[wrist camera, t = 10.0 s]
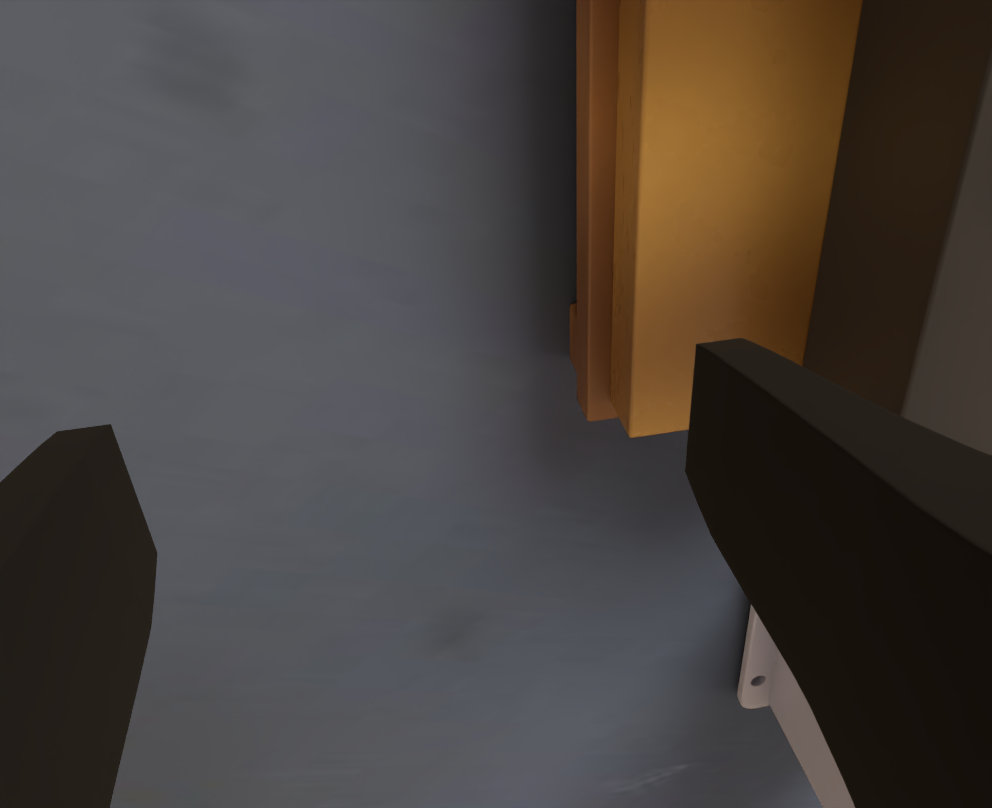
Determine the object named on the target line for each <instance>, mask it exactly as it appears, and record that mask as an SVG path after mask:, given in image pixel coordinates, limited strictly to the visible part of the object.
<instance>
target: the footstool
mask: <svg viewBox="0 0 992 808" xmlns="http://www.w3.org/2000/svg"><path fill="white" fill-rule="evenodd" d="M862 4H863V0H577V303H574V304H571V306H570V359H571V361H572V364H573V366H574V368H575V370H576V372H577V400H578V402H579V404H580V406H581V408H582V411H583V413H584V415H585V417H586V419H587V421H589V422H591V421H598V420H605V419H612V418H619V419H620V421H621V423H622V425H623V426H624V428H625V430H626V432H627V434H628V436H629V437H630V438H636V437H642V436H649V435H656V434H663V433H669V432H676V431H683V430H689V421H690V409H691V397H692V386H693V374H694V362H695V351H696V344H699V343H707V342H714V341H721V340H729V339H736V338H744V339H746V340H749V341H751V342H754V343H756V344H758V345H760V346H763V347H765V348H767V349H769V350H771V351H773V352H775V353H777V354H779V355H781V356H783V357H785V358H787V359H789V360H791V361H793V362H795V363H797V364H799V365H801V366H803V360H804V354H805V348H806V342H807V336H808V330H809V324H810V318H811V312H812V306H813V300H814V294H815V288H816V282H817V276H818V269H819V263H820V257H821V251H822V245H823V239H824V233H825V227H826V221H827V215H828V209H829V203H830V197H831V191H832V185H833V179H834V173H835V167H836V161H837V155H838V149H839V143H840V137H841V130H842V124H843V118H844V112H845V106H846V100H847V94H848V88H849V82H850V76H851V70H852V64H853V58H854V52H855V46H856V40H857V34H858V28H859V22H860V16H861V10H862Z"/></svg>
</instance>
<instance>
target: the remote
mask: <svg viewBox="0 0 992 808" xmlns="http://www.w3.org/2000/svg"><path fill="white" fill-rule="evenodd" d="M803 367H804V368H806V369H808V370H810V371H812V372H814V373H816V374H818V375H820V376H822V377H824V378H826V379H828V380H830V381H831V382H833V383H835V384H837V385H839V386H841V387H843V388H845V389H847V390H849V391H851V392H853V393H855V394H857V395H859V396H861V397H863V398H865V399H867V400H869V401H871V402H873V403H875V404H877V405H879V406H881V407H883V408H885V409H887V410H889V411H891V412H893V413H895V414H898V415H900V416H902V417H904V418H906V419H908V420H910V421H912V422H914V423H917V424H919V425H921V426H923V427H926V428H928V429H930V430H933V431H935V432H937V433H939V434H942V435H944V436H946V437H948V438H951V439H953V440H955V441H957V442H960V443H962V444H964V445H967V446H969V447H971V448H974V449H976V450H979V451H981V452H984V453H986V454H989V455H991V456H992V0H863V4H862V10H861V16H860V22H859V28H858V34H857V40H856V46H855V52H854V58H853V64H852V70H851V76H850V82H849V88H848V94H847V100H846V106H845V112H844V118H843V124H842V130H841V137H840V143H839V149H838V155H837V161H836V167H835V173H834V179H833V185H832V191H831V197H830V203H829V209H828V215H827V221H826V227H825V233H824V239H823V245H822V251H821V257H820V263H819V269H818V276H817V282H816V288H815V294H814V300H813V306H812V312H811V318H810V324H809V330H808V336H807V342H806V348H805V354H804V360H803Z"/></svg>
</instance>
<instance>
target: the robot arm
mask: <svg viewBox="0 0 992 808" xmlns="http://www.w3.org/2000/svg"><path fill="white" fill-rule="evenodd" d="M685 472H686V475H687V477H688V480H689V482H690V485H691V488H692V490H693V493H694V495H695V498H696V500H697V503H698V505H699V508H700V510H701V513H702V515H703V517H704V520H705V522H706V524H707V527H708V529H709V531H710V534H711V536H712V537H713V539H714V541H715V543H716V545H717V546H718V548H719V550H720V552H721V553H722V555H723V557H724V559H725V560H726V562H727V564H728V565H729V567H730V569H731V571H732V572H733V574H734V576H735V577H736V579H737V581H738V583H739V584H740V586H741V588H742V589H743V591H744V593H745V594H746V596H747V598H748V600H749V601H750V603H751V608H750V615H749V621H748V628H747V634H746V641H745V647H744V654H743V660H742V667H741V673H740V680H739V686H738V692H737V697H738V699H739V702H740V704H741V705H742V706H743V707H744V708H748V709H754V708H759V707H765V706H770V707H771V709H772V711H773V713H774V714H775V716H776V718H777V720H778V722H779V724H780V726H781V728H782V730H783V732H784V734H785V736H786V737H787V739H788V741H789V743H790V745H791V747H792V749H793V751H794V753H795V755H796V757H797V759H798V760H799V762H800V764H801V766H802V768H803V770H804V772H805V774H806V776H807V778H808V780H809V781H810V783H811V785H812V787H813V789H814V791H815V793H816V795H817V797H818V799H819V801H820V803H821V804H822V806H823V808H992V456H991V455H989V454H986V453H984V452H981V451H979V450H976V449H974V448H971V447H969V446H967V445H964V444H962V443H960V442H957V441H955V440H953V439H951V438H948V437H946V436H944V435H942V434H939V433H937V432H935V431H933V430H930V429H928V428H926V427H923V426H921V425H919V424H917V423H914V422H912V421H910V420H908V419H906V418H904V417H902V416H900V415H898V414H895V413H893V412H891V411H889V410H887V409H885V408H883V407H881V406H879V405H877V404H875V403H873V402H871V401H869V400H867V399H865V398H863V397H861V396H859V395H857V394H855V393H853V392H851V391H849V390H847V389H845V388H843V387H841V386H839V385H837V384H835V383H833V382H831V381H830V380H828V379H826V378H824V377H822V376H820V375H818V374H816V373H814V372H812V371H810V370H808V369H806V368H804V367H803V366H801V365H799V364H797V363H795V362H793V361H791V360H789V359H787V358H785V357H783V356H781V355H779V354H777V353H775V352H773V351H771V350H769V349H767V348H765V347H763V346H760V345H758V344H756V343H754V342H751V341H749V340H746V339H744V338H736V339H729V340H721V341H714V342H707V343H699V344H696V351H695V362H694V374H693V386H692V397H691V409H690V421H689V432H688V444H687V456H686V468H685ZM156 564H157V551H156V548H155V545H154V542H153V540H152V537H151V534H150V531H149V529H148V526H147V523H146V520H145V518H144V515H143V512H142V509H141V507H140V504H139V501H138V498H137V496H136V493H135V490H134V487H133V484H132V482H131V479H130V476H129V473H128V471H127V468H126V465H125V462H124V460H123V457H122V454H121V451H120V449H119V446H118V443H117V440H116V438H115V435H114V432H113V429H112V427H111V424H109V425H102V426H94V427H87V428H80V429H73V430H65V431H58V432H56V433H55V434H54V435H52V436H51V437H50V438H49V439H47V440H46V441H45V442H44V443H43V444H41V445H40V446H39V447H38V448H37V449H36V450H35V451H34V452H32V453H31V454H30V455H29V456H28V457H27V458H26V459H25V460H24V461H23V462H22V463H21V464H19V465H18V466H17V467H16V468H15V469H14V470H13V471H12V472H11V473H10V474H9V475H8V476H7V477H6V478H5V479H4V480H2V481H1V482H0V808H110V803H111V798H112V794H113V790H114V786H115V781H116V777H117V773H118V769H119V764H120V760H121V756H122V752H123V747H124V743H125V739H126V735H127V730H128V726H129V722H130V718H131V713H132V709H133V705H134V701H135V697H136V692H137V688H138V684H139V679H140V675H141V670H142V666H143V662H144V657H145V653H146V648H147V644H148V639H149V634H150V630H151V623H152V613H153V603H154V593H155V578H156Z"/></svg>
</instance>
